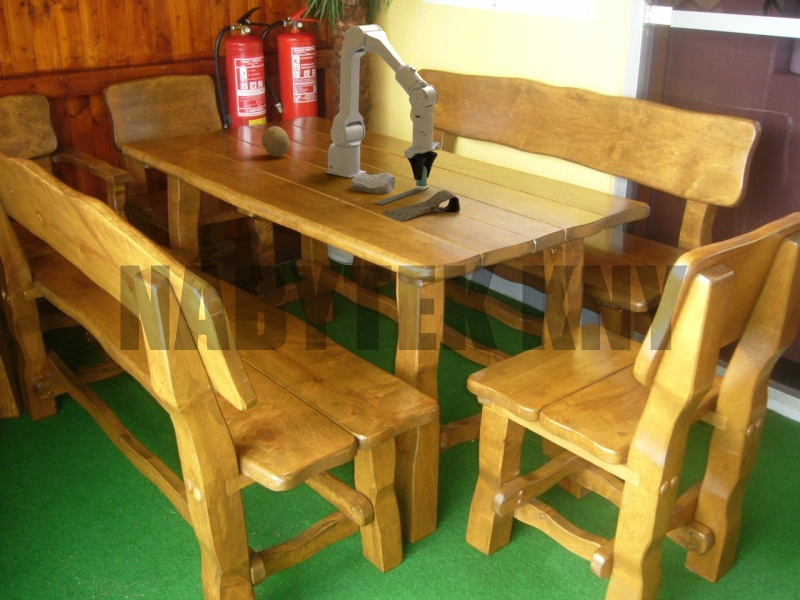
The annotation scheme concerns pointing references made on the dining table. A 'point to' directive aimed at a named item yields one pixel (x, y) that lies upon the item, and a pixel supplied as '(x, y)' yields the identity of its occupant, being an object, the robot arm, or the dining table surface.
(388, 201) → the bar
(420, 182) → the teal cylinder cream end
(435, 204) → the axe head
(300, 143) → the dining table surface
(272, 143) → the brown oval lump
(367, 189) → the stone block
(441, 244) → the dining table surface
